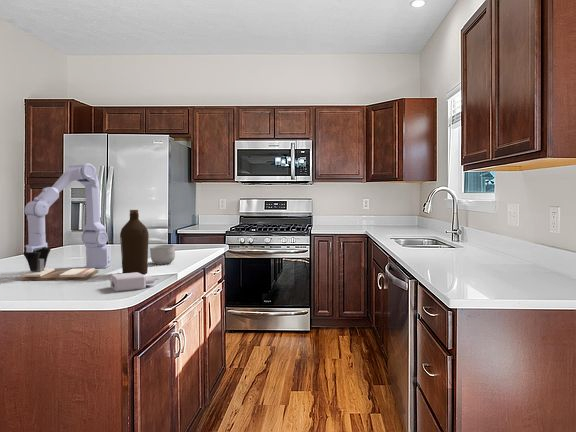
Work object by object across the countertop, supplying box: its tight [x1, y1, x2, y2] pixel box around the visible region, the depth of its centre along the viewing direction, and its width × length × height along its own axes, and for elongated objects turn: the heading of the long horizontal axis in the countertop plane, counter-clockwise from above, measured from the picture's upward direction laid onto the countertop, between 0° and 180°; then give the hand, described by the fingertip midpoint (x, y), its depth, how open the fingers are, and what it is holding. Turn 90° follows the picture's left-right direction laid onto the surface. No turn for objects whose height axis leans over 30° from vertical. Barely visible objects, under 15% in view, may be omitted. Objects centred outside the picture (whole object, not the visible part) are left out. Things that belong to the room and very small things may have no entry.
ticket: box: [59, 268, 96, 277], centre depth 187 cm, size 9×14×1 cm, turn 6°
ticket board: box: [22, 269, 99, 282], centre depth 187 cm, size 22×16×1 cm
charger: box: [109, 272, 160, 293], centre depth 166 cm, size 5×9×15 cm
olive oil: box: [119, 209, 149, 275], centre depth 193 cm, size 11×11×25 cm
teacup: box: [149, 244, 176, 265], centre depth 221 cm, size 14×11×8 cm
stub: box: [19, 259, 56, 278], centre depth 186 cm, size 7×14×5 cm, turn 6°
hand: (37, 269), depth 186 cm, fingers open, 7 cm apart
